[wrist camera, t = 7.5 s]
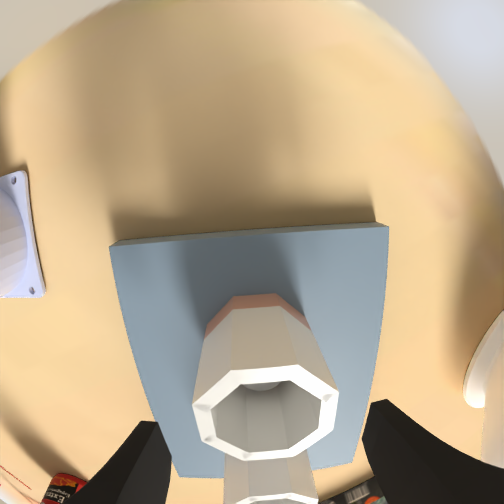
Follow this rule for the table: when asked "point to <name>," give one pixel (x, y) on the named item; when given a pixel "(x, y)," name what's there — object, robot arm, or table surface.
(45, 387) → the table surface
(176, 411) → the pin board
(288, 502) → the seated sleeve
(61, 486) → the canned food
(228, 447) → the sleeve
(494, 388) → the decorative vase
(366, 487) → the pizza box
